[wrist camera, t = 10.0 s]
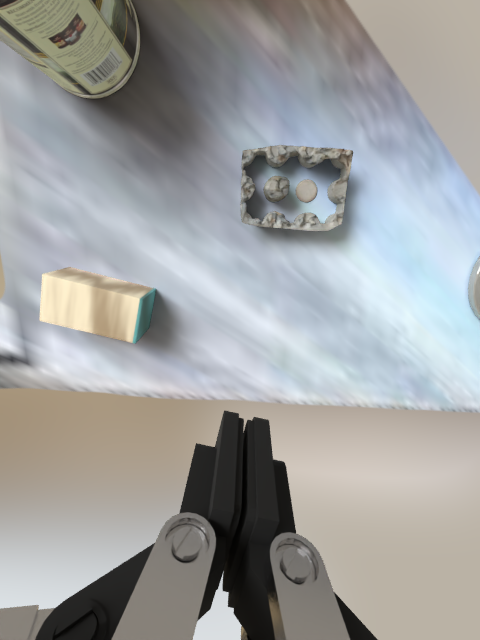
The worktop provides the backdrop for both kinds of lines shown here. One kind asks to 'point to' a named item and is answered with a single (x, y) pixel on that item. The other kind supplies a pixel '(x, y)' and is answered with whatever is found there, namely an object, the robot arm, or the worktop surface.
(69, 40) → the coffee can
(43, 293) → the maple block
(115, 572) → the robot arm
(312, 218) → the egg carton
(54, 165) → the worktop surface
